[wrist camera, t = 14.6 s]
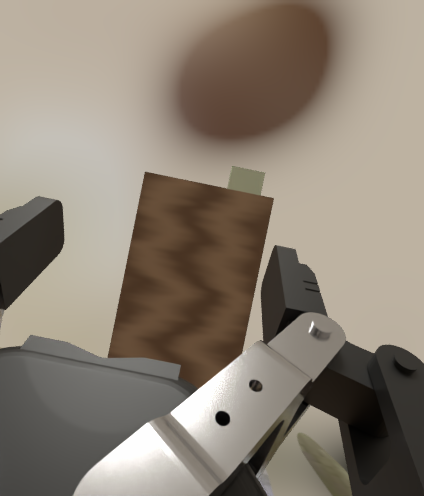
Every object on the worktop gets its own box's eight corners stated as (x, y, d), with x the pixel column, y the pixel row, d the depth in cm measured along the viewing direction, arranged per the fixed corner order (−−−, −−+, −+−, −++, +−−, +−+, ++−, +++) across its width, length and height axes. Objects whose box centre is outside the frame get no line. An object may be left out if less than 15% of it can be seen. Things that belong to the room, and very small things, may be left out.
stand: (81, 486, 33) (145, 171, 33) (117, 418, 46) (163, 192, 46) (209, 511, 33) (273, 198, 33) (209, 436, 46) (255, 211, 46)
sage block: (225, 198, 40) (232, 166, 40) (224, 202, 44) (230, 173, 44) (258, 205, 40) (265, 172, 40) (253, 208, 44) (259, 179, 44)
